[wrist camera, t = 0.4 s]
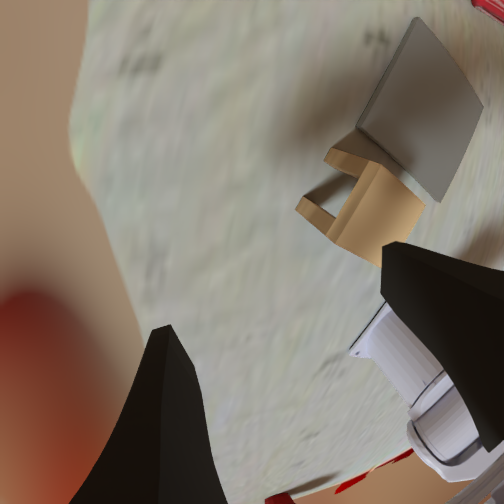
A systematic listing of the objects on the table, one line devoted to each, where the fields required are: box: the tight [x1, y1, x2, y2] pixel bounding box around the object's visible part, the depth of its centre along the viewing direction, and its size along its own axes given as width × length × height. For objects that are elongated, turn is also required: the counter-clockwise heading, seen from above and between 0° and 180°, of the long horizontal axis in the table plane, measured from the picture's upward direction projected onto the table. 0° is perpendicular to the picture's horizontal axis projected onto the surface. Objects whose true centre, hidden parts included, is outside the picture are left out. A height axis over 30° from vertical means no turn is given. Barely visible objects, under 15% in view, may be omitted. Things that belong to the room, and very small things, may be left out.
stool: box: [295, 148, 426, 268], centre depth 17 cm, size 5×5×5 cm
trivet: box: [356, 17, 483, 203], centre depth 18 cm, size 11×11×1 cm
